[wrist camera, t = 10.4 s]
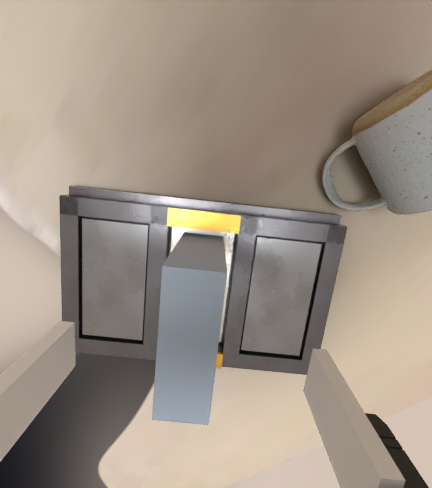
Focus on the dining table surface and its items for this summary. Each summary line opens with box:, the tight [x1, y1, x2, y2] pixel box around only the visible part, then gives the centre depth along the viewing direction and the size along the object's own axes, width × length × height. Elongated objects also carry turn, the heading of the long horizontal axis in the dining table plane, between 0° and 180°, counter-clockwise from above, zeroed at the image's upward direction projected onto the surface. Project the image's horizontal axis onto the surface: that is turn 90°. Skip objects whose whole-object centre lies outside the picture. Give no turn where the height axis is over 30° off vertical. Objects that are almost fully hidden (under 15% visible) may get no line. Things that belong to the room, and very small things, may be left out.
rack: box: [60, 186, 347, 375], centre depth 25 cm, size 16×24×3 cm, turn 84°
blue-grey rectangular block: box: [152, 232, 227, 425], centre depth 21 cm, size 10×4×10 cm, turn 174°
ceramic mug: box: [322, 70, 432, 214], centre depth 20 cm, size 11×8×8 cm
